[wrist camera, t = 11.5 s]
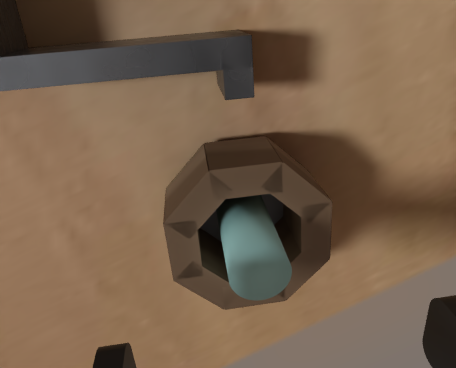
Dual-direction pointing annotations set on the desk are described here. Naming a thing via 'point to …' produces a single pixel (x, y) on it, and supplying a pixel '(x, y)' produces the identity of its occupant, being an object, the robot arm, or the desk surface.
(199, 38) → the bent rail
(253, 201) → the teal flanged peg
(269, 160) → the walnut ring
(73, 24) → the desk surface
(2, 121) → the desk surface
